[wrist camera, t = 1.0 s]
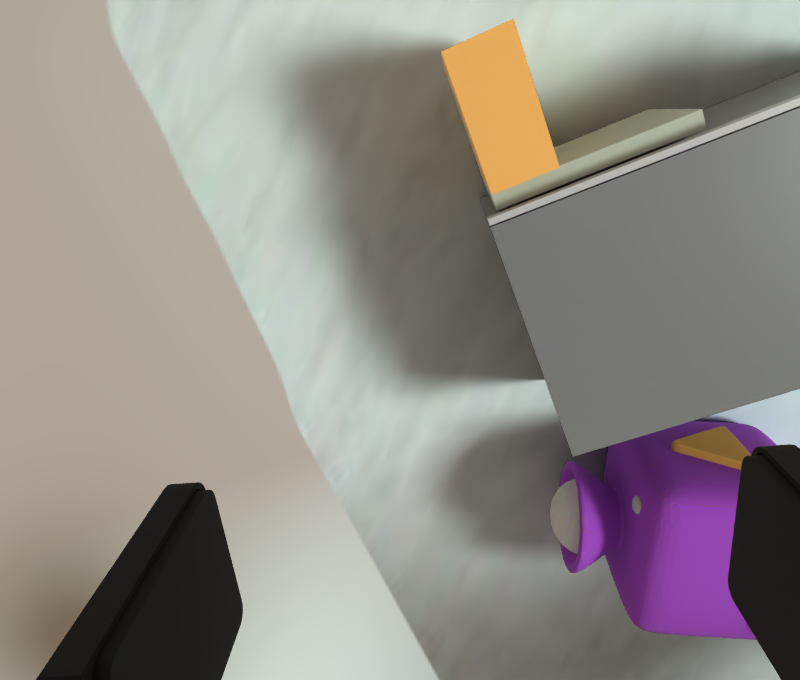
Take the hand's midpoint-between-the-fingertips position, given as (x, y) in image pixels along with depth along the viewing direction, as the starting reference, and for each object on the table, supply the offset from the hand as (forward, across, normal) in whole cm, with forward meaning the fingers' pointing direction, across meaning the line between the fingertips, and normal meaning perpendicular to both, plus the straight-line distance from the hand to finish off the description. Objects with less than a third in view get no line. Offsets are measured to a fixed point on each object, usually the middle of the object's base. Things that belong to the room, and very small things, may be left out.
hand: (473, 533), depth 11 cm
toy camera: (+26, -12, +17) cm, 33 cm away
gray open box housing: (+26, -15, +1) cm, 30 cm away
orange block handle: (+25, -6, -7) cm, 27 cm away
